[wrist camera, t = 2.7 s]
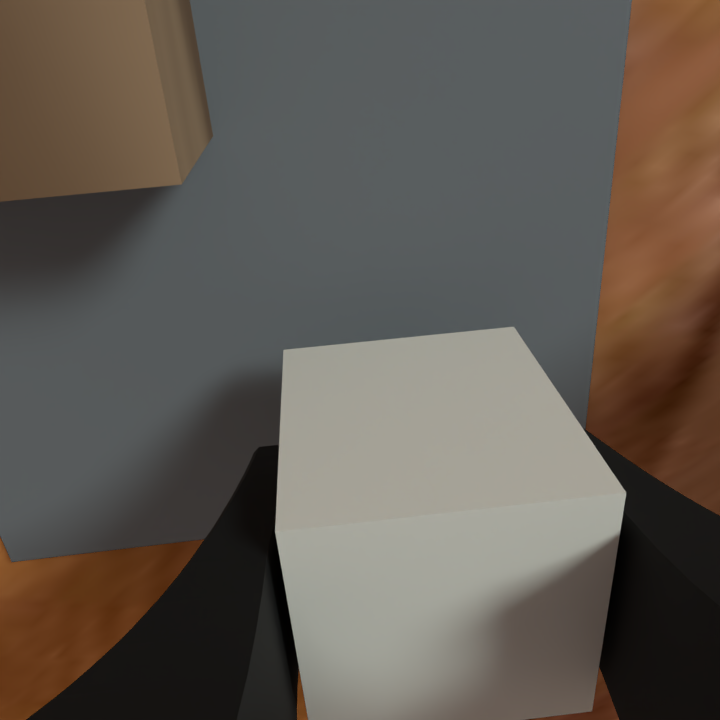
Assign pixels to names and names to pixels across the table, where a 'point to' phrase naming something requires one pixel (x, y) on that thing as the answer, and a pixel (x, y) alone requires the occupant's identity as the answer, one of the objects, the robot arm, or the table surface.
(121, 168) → the walnut block
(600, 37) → the mat
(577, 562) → the cream cube
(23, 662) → the table surface
